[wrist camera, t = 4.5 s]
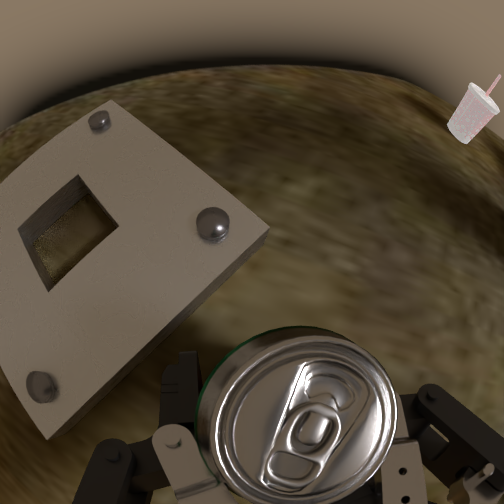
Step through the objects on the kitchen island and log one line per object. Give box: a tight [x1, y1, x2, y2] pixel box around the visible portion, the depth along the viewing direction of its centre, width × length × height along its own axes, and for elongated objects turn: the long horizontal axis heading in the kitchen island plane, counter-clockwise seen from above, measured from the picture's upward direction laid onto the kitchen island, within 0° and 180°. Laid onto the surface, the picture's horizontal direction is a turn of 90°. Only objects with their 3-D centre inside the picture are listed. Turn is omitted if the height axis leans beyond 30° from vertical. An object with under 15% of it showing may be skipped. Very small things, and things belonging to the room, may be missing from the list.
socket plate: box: [0, 100, 270, 440], centre depth 17 cm, size 20×20×3 cm
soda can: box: [194, 326, 398, 504], centre depth 10 cm, size 5×5×12 cm
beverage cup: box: [447, 74, 501, 144], centre depth 26 cm, size 6×6×14 cm
